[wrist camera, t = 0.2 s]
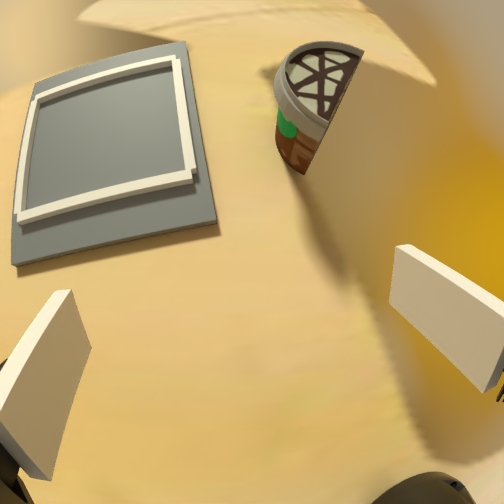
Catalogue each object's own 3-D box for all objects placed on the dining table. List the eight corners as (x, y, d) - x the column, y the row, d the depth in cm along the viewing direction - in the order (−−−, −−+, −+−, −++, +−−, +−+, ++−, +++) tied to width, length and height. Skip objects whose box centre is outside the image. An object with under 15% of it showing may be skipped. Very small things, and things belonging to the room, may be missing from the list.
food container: (291, 86, 34) (307, 23, 25) (337, 108, 34) (365, 48, 24) (242, 159, 31) (249, 93, 22) (298, 186, 31) (326, 127, 21)
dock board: (216, 223, 29) (216, 215, 27) (16, 266, 27) (5, 262, 25) (185, 46, 35) (184, 35, 33) (37, 87, 32) (32, 79, 31)
